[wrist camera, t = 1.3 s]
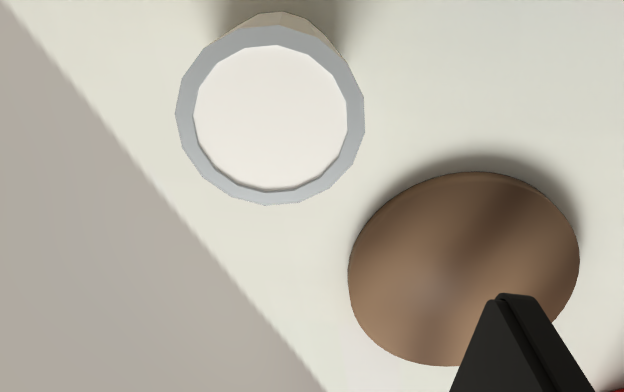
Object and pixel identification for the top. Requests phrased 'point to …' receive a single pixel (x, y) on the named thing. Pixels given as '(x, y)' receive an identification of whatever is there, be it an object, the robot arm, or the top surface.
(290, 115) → the white cup
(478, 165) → the top surface
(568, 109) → the top surface
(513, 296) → the robot arm
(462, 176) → the brown round coaster
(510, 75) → the top surface
